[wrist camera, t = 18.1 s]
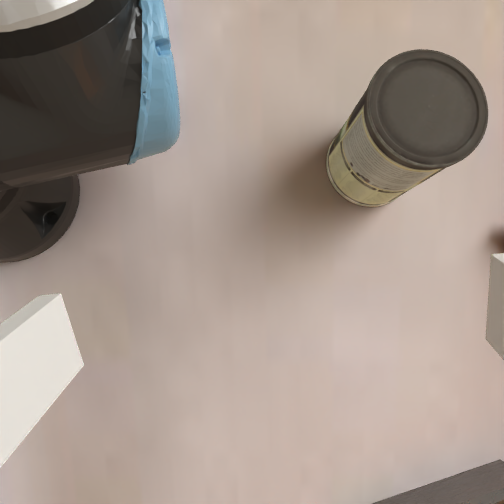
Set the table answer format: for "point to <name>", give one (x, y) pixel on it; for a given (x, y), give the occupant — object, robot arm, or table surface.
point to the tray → (459, 488)
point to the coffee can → (407, 127)
